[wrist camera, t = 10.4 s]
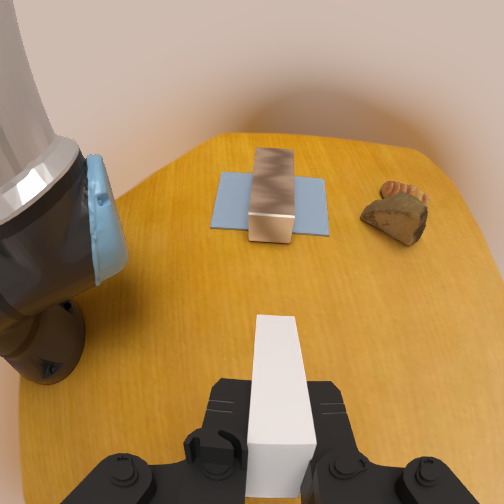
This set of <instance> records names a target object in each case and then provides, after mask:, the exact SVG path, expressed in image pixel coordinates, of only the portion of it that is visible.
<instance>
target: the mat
mask: <svg viewBox="0 0 504 504" xmlns="http://www.w3.org/2000/svg"><path fill="white" fill-rule="evenodd" d="M252 179H253V173H232V172H222V173H221V178H220V183H219V187H218V192H217V197H216V202H215V206H214V211H213V216H212V221H211V226H210V227H211V228H214V229H231V230H247V231H249V225H248V213H249V204H250V196H251V187H252ZM294 188H295V220H294V225H293V230H292V234H304V235H317V236H329V225H328V213H327V203H326V193H325V184H324V179H318V178H308V177H296V176H294Z"/></svg>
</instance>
